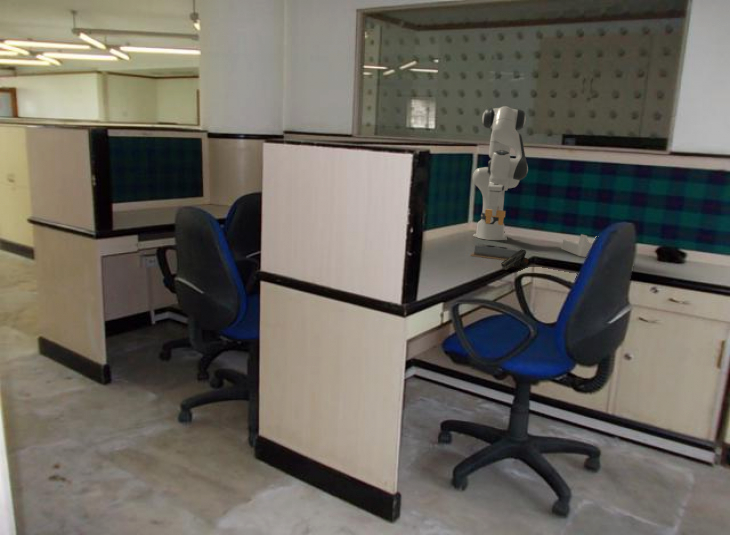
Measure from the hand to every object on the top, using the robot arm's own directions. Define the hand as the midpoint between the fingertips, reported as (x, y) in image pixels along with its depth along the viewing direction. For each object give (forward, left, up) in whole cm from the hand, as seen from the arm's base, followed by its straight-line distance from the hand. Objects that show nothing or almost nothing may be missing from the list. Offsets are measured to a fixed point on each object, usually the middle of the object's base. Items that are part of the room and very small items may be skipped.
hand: (495, 215), depth 290 cm
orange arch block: (0, 0, -4) cm, 4 cm away
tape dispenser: (-37, +38, -20) cm, 57 cm away
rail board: (0, +3, -20) cm, 20 cm away
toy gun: (+21, +14, -20) cm, 32 cm away
